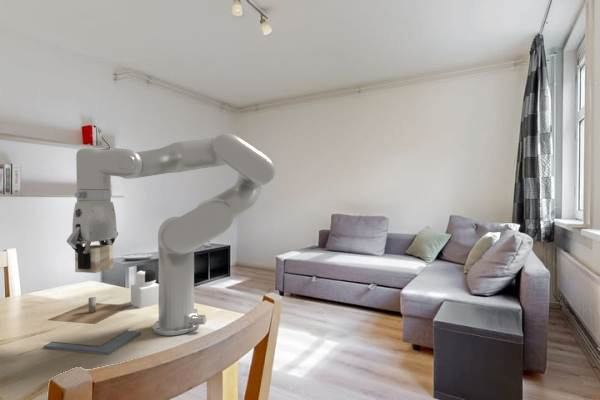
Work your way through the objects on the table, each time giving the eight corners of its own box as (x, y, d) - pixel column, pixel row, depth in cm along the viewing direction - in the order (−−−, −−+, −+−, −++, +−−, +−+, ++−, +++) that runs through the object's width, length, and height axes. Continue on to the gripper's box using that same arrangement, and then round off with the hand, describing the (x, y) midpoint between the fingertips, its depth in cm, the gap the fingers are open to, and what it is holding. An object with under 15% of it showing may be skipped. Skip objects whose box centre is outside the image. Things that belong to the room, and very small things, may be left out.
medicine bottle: (151, 300, 118) (151, 267, 118) (161, 305, 114) (161, 270, 114) (130, 306, 113) (130, 270, 113) (140, 310, 108) (140, 274, 108)
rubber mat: (141, 333, 90) (140, 331, 90) (108, 354, 79) (108, 352, 79) (83, 328, 93) (83, 326, 93) (43, 348, 82) (43, 345, 82)
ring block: (113, 267, 89) (113, 245, 89) (95, 273, 83) (95, 249, 83) (94, 266, 90) (94, 244, 90) (75, 271, 84) (74, 248, 84)
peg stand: (132, 307, 111) (132, 292, 111) (94, 326, 95) (94, 308, 95) (90, 304, 114) (90, 289, 113) (47, 322, 98) (47, 304, 98)
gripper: (78, 197, 77) (79, 274, 77) (130, 196, 94) (130, 260, 94) (51, 197, 78) (52, 273, 79) (107, 196, 95) (107, 259, 96)
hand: (95, 265), depth 86 cm, fingers closed on ring block, 6 cm apart
